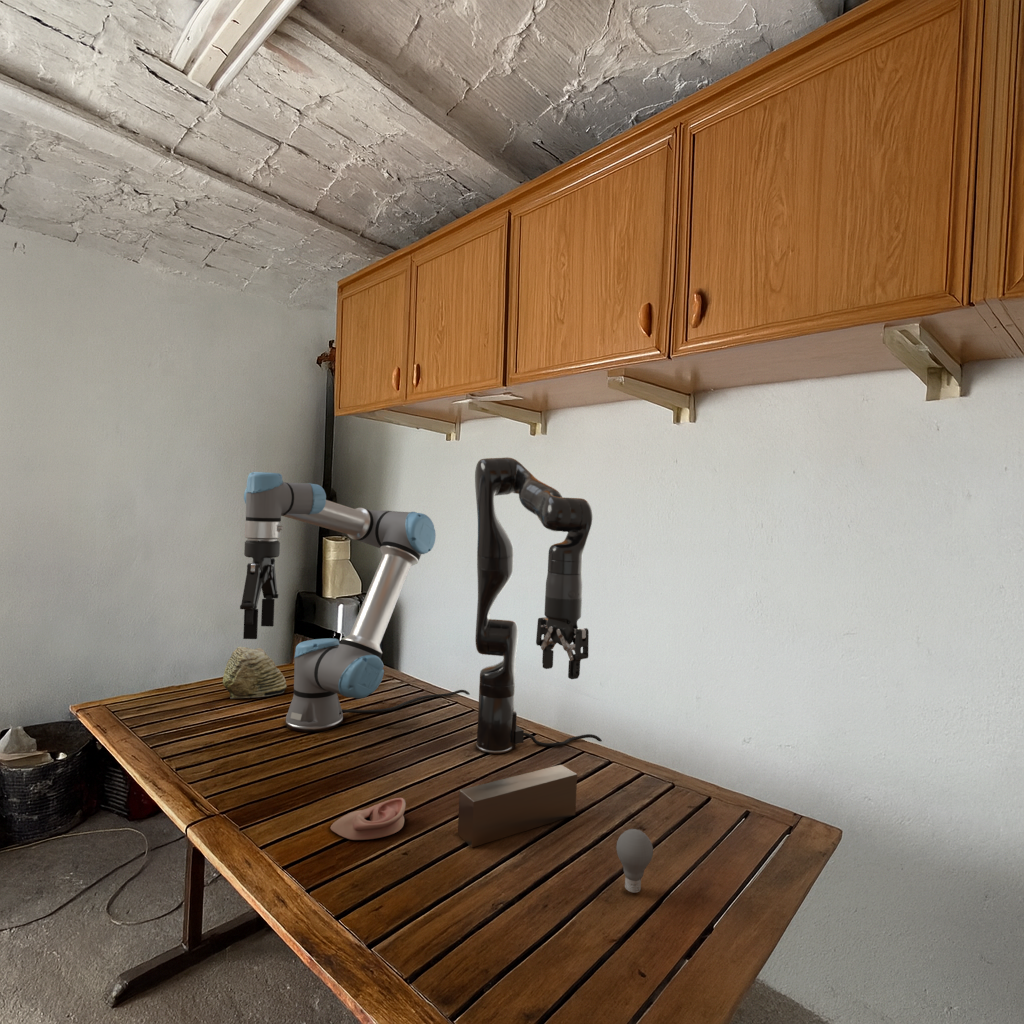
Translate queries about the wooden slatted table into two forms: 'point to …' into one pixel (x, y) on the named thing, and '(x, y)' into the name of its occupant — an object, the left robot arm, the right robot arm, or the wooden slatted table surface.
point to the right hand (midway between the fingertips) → (560, 673)
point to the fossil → (252, 674)
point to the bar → (516, 804)
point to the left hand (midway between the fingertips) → (259, 632)
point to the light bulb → (634, 857)
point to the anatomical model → (372, 821)
